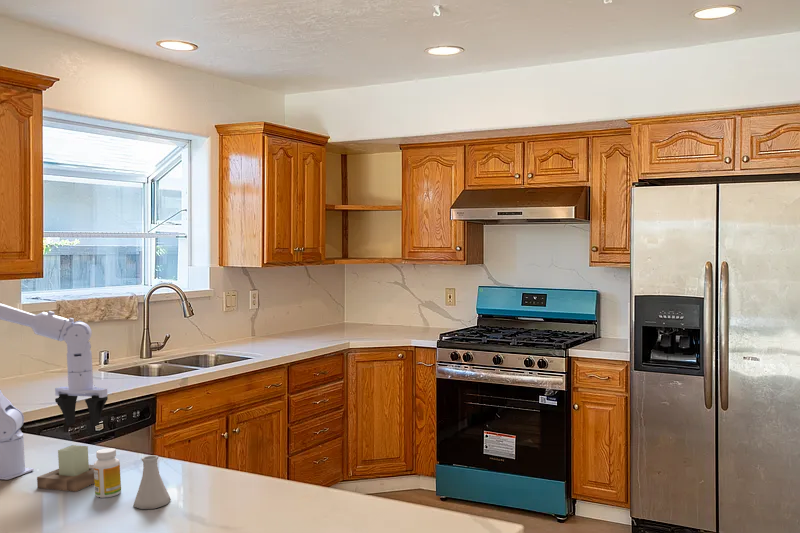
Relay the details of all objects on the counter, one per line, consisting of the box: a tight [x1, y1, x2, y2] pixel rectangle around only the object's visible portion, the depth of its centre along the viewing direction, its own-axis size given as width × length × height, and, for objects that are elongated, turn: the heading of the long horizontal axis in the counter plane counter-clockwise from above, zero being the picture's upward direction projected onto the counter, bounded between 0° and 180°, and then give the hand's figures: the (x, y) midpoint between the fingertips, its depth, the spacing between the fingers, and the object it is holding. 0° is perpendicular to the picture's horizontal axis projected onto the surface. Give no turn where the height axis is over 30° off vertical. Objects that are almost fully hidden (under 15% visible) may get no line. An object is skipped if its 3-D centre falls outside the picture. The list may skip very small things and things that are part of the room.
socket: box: [36, 464, 95, 492], centre depth 177 cm, size 11×11×2 cm
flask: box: [132, 454, 172, 510], centre depth 160 cm, size 7×7×10 cm
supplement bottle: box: [93, 447, 122, 499], centre depth 168 cm, size 5×5×10 cm
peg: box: [57, 444, 90, 476], centre depth 177 cm, size 4×4×8 cm
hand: (82, 425), depth 190 cm, fingers open, 7 cm apart
